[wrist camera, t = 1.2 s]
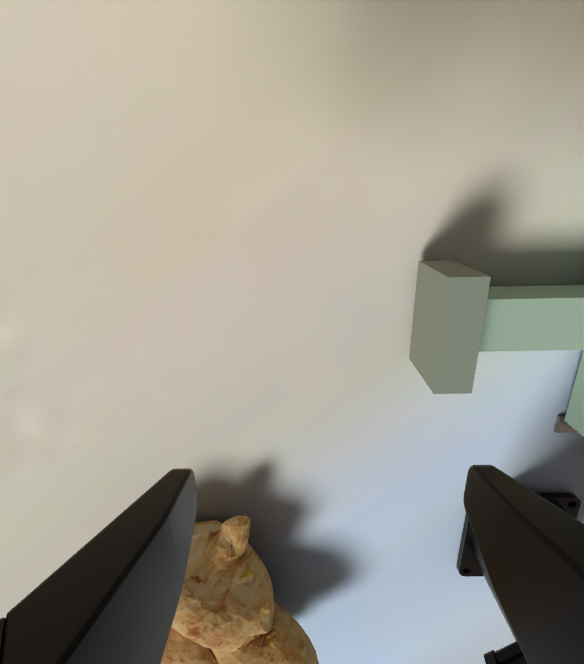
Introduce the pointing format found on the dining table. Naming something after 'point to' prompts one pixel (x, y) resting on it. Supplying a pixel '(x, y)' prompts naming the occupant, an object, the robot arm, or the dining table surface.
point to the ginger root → (231, 605)
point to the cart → (490, 326)
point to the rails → (563, 425)
